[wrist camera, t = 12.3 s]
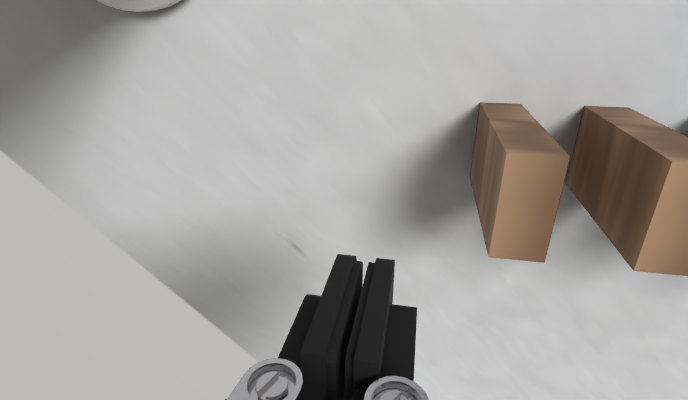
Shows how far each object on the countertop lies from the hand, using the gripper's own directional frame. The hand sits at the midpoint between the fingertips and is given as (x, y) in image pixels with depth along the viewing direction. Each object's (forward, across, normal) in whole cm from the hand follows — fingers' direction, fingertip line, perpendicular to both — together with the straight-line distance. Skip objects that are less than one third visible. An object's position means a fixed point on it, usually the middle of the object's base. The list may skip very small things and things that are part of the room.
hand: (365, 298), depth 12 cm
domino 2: (+17, -12, 0) cm, 21 cm away
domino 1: (+17, -6, 0) cm, 18 cm away
